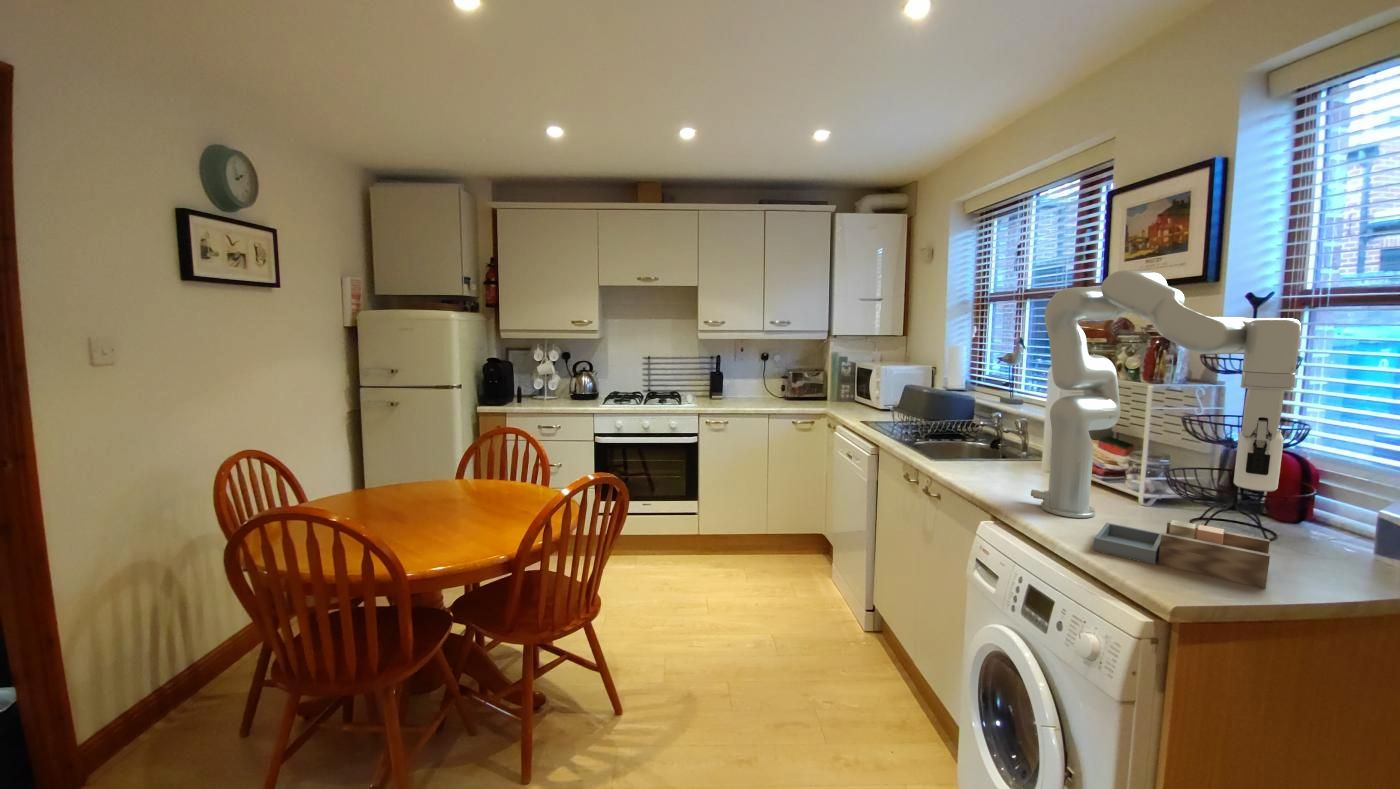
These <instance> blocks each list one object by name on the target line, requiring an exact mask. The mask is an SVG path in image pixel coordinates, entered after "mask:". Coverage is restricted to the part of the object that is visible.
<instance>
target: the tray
mask: <svg viewBox="0 0 1400 789" xmlns="http://www.w3.org/2000/svg"><path fill="white" fill-rule="evenodd" d="M1162 533H1163V532H1156V531H1152V530H1151V531H1150V530H1146V529H1140V528H1136V527H1130V526H1126V525H1119V524H1116V523H1110V522H1106V523H1105V524H1104V525H1103V527H1102V528H1100V531H1099V532H1097V534H1096V535H1095V537H1094V540H1093V550H1095V551H1094V552H1097V551H1100V552H1099V553H1101V552H1104V553H1103V554H1105V553H1108V554H1107V555H1110V554H1112V555H1111V556H1114V555H1116V556H1115V557H1118V556H1121V557H1120V558H1123V557H1125V558H1124V559H1127V558H1130V559H1129V560H1132V559H1135V560H1134V561H1136V560H1139V561H1138V562H1140V561H1142V563H1145V562H1147V563H1146V564H1149V563H1151V564H1150V565H1153V564H1155V565H1156V562H1157V561H1158V560H1159V552H1160V542H1161V534H1162Z"/></svg>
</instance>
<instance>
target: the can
mask: <svg viewBox="0 0 1400 789" xmlns="http://www.w3.org/2000/svg"><path fill="white" fill-rule="evenodd" d="M1282 431H1283V430H1282V429H1279V428H1278V431H1277V435H1276V438H1275V440H1272V441H1270V448H1269V455H1270V463H1269V471H1268V475H1260V474H1252V473H1247V472H1246V463H1247V455H1248V452H1249V453H1250V444H1251V436H1246V438H1243V437H1242V436H1241V435H1242V430H1241V431H1240V433H1239V435H1238V440H1237V448H1236V456H1235V466H1234V475H1233V476H1234V477H1233V484H1234V485H1235V486H1236V487H1238V488H1242V489H1244V490H1245V489H1246V490H1250V491H1256V492H1275V491H1277V489H1278V487H1279V479H1280V474H1281V466H1282V464H1281V463H1282V456H1283V448H1284V447H1283V446H1284V437H1283V434H1282ZM1268 433H1269V431H1268ZM1254 434H1255V431H1254ZM1251 435H1252V434H1251ZM1254 437H1257V435H1254ZM1271 437H1272V433H1271ZM1266 438H1268V437H1267V436H1266ZM1270 440H1271V439H1270ZM1254 442H1255V441H1254ZM1253 450H1254V449H1253Z"/></svg>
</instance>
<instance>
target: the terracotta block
mask: <svg viewBox="0 0 1400 789" xmlns="http://www.w3.org/2000/svg"><path fill="white" fill-rule="evenodd" d="M1198 526H1199V527H1198V531H1197V540H1201V541H1206V542H1211V543H1216V544H1221V545H1222V544H1223V535H1224V531H1225V529H1224V528H1219V527H1215V526H1209V525H1203V524H1199V525H1198Z"/></svg>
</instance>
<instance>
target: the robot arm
mask: <svg viewBox="0 0 1400 789" xmlns="http://www.w3.org/2000/svg"><path fill="white" fill-rule="evenodd" d="M1184 303H1185V295H1184V294H1183V292H1182V291H1181V290H1180V289H1177V288H1175V287H1173V286H1169V285H1168V283H1167V280H1166V279H1165V278H1164V277H1163V275H1161V274H1160V273H1158V272H1156V271H1154V270H1153V271H1151V270H1136V269H1135V270H1134V269H1132V270H1131V269H1124V270H1119V271H1115V272H1112V273H1111V274H1109V275H1108V276H1106V278H1105V279H1104V280H1103V281H1102V283H1101V287H1090V286H1089V287H1088V286H1087V287H1086V286H1076V287H1068V288H1064V289H1062V290H1060V291H1058V292H1056V293H1054V295H1053V296H1052V297H1051V298H1050V299H1049V301H1048V303H1047V305H1046V307H1045V311H1044V323H1045V328H1046V332H1047V336H1048V337H1047V338H1048V341H1049V352H1050V353H1049V354H1050V361H1051V363H1050V364H1051V372H1052V379H1053V382H1054V385H1055V386H1056V387H1058V388H1059V390H1060V389H1061V390H1063V391H1083V394H1077V395H1076V394H1075V395H1066V396H1063V397H1060V398H1058V399H1057V400H1056V401H1054V402H1053V403H1052V404H1051V407H1050V410H1049V420H1050V426H1051V454H1050V455H1051V456H1050V464H1049V468H1050V469H1049V480H1048V490H1044V491H1040V490H1037V489H1031V492H1030V496H1031V497H1033V498H1034V499H1038V500H1042V502H1041V503H1040V507H1041V509H1042V510H1043V511H1045V512H1047V513H1050V514H1053V515H1057V516H1061V517H1062V516H1063V517H1065V518H1066V517H1068V518H1077V519H1085V518H1093V517H1094V516H1096V512H1097V511H1096V509H1094V508H1093V507H1092V506H1090V496H1091V488H1092V487H1091V485H1092V477H1093V476H1092V474H1093V464H1094V462H1093V460H1094V449H1095V448H1094V443H1093V440H1092V438H1091V436H1090V432H1089V431H1101V430H1107V429H1110V428H1113V427H1114V426H1115V425H1116V424H1117V423H1118V422H1119V420H1120V418H1121V410H1122V409H1121V399H1120V391H1119V390H1120V388H1119V380H1118V379H1119V378H1118V374H1117V369H1116V367H1115V365H1114V363H1113V362H1112V361H1111V360H1110V359H1109V358H1108V357H1106V356H1103V355H1099V354H1089V350H1088V342H1087V336H1086V334H1085V332H1084V330H1083V328H1082V327H1081V325H1080V324H1079V321H1081V320H1082V321H1106V320H1111V319H1116V318H1118V317H1122V316H1125V315H1128V314H1132V315H1135V316H1137V317H1138V318H1141V319H1143V320H1144V321H1147V322H1149V324H1150V323H1151V325H1152V327H1153V328H1154V330H1156V332H1157V333H1158V334H1159V335H1160V336H1161V337H1163V338H1165V339H1166V340H1168V341H1170V342H1172V343H1174V344H1176V345H1178V346H1180V347H1182V348H1184V349H1187V350H1189V351H1190V352H1194V353H1196V354H1197V353H1198V354H1200V355H1201V354H1203V355H1232V354H1234V355H1237V354H1243V364H1242V372H1241V379H1240V381H1241V382H1240V389H1247V390H1246V395H1245V399H1244V408H1243V416H1242V425H1241V426H1242V427H1241V431H1242V435H1241V436H1242V437H1243V438H1246V436H1251V444H1250V453H1249V452H1248V455H1247V463H1246V472H1247V473H1252V474H1260V475H1268V471H1269V463H1270V455H1269V448H1270V441H1272V440H1275V438H1276V435H1277V431H1278V429H1279V427H1280V421H1281V416H1282V410H1283V404H1284V395H1285V391H1286V392H1288V391H1289V392H1291V391H1294V389H1295V388H1294V387H1295V378H1296V371H1297V363H1298V356H1299V348H1300V339H1301V331H1302V325H1301V322H1300V321H1299V320H1298V319H1295V318H1289V317H1288V318H1285V317H1283V318H1281V317H1278V318H1277V317H1276V318H1275V317H1268V318H1267V317H1266V318H1248V317H1232V316H1231V317H1230V316H1229V317H1228V316H1227V317H1224V316H1223V317H1222V316H1218V317H1217V316H1215V317H1214V316H1213V317H1211V316H1207V315H1206V314H1202V313H1200V312H1197V311H1196V310H1193V309H1191V308H1188V307H1187V306H1185V305H1184ZM1254 431H1255V434H1254ZM1268 431H1269V433H1268ZM1271 433H1272V437H1271ZM1251 434H1252V435H1251ZM1254 435H1257V437H1254ZM1266 436H1267V437H1268V438H1266ZM1270 439H1271V440H1270ZM1254 441H1255V442H1254ZM1253 449H1254V450H1253Z"/></svg>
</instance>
